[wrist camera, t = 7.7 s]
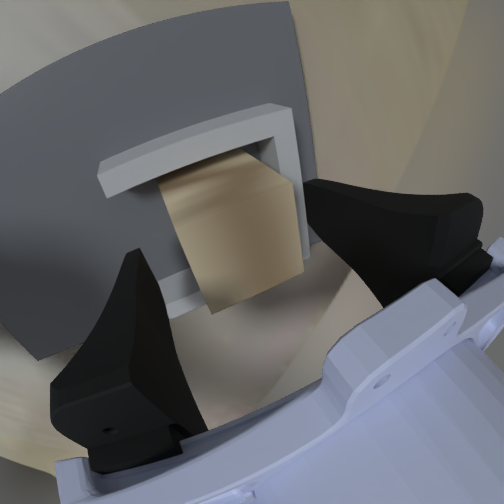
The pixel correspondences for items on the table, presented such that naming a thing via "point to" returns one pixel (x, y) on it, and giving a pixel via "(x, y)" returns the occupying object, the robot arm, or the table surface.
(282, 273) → the connector block
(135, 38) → the holder board
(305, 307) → the table surface
